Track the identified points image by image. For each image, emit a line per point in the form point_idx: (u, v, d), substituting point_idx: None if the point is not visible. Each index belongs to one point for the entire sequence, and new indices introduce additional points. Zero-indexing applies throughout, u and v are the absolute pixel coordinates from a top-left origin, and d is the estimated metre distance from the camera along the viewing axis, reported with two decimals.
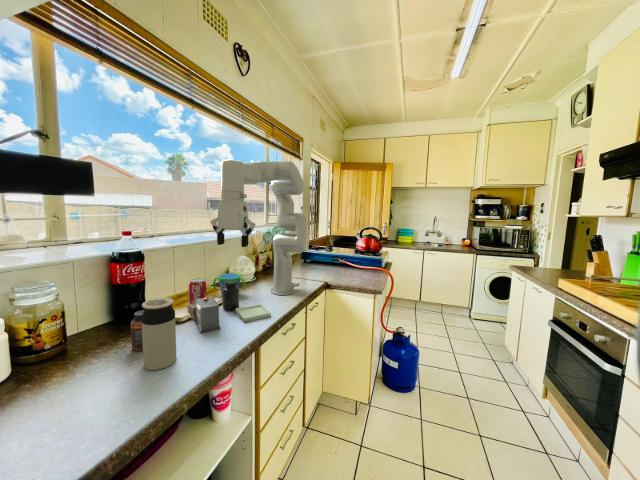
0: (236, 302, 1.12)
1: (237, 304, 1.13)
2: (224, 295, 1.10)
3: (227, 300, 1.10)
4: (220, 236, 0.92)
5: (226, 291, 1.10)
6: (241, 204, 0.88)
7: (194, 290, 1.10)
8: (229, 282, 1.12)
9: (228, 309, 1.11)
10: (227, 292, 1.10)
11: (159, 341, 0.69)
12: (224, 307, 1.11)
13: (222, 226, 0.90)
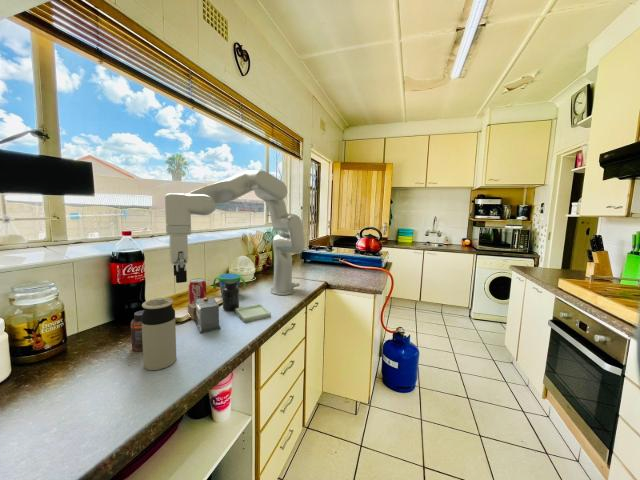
0: (236, 302, 1.12)
1: (237, 304, 1.13)
2: (224, 295, 1.10)
3: (227, 300, 1.10)
4: None
5: (226, 291, 1.10)
6: None
7: (194, 290, 1.10)
8: (229, 282, 1.12)
9: (228, 309, 1.11)
10: (227, 292, 1.10)
11: (159, 341, 0.69)
12: (224, 307, 1.11)
13: None
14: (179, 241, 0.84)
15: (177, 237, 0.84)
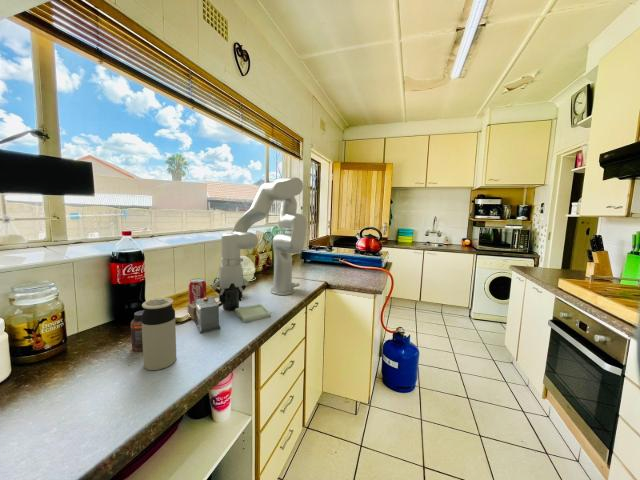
0: (236, 302, 1.12)
1: (237, 304, 1.13)
2: (224, 295, 1.10)
3: (227, 300, 1.10)
4: None
5: (226, 291, 1.10)
6: (241, 267, 1.13)
7: (194, 290, 1.10)
8: None
9: (228, 309, 1.10)
10: (227, 292, 1.10)
11: (159, 341, 0.69)
12: (224, 307, 1.11)
13: (225, 287, 1.09)
14: (219, 270, 1.09)
15: (219, 266, 1.10)
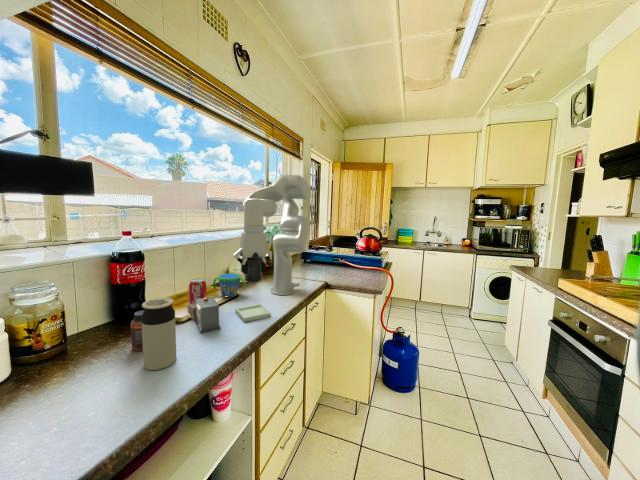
0: (259, 273, 1.04)
1: (260, 275, 1.05)
2: (247, 265, 1.03)
3: (250, 271, 1.03)
4: None
5: (249, 260, 1.02)
6: None
7: (194, 290, 1.10)
8: None
9: (251, 280, 1.03)
10: (250, 262, 1.02)
11: (159, 341, 0.69)
12: (246, 278, 1.04)
13: (248, 256, 1.02)
14: (241, 238, 1.02)
15: None
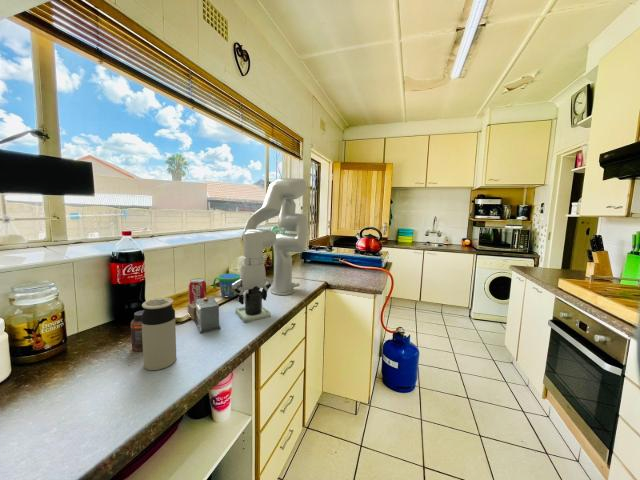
0: (259, 306, 1.06)
1: (260, 308, 1.07)
2: (247, 299, 1.05)
3: (250, 304, 1.05)
4: None
5: (249, 294, 1.04)
6: (264, 266, 1.07)
7: (194, 290, 1.10)
8: None
9: (251, 313, 1.05)
10: (250, 296, 1.04)
11: (159, 341, 0.69)
12: (247, 311, 1.05)
13: (248, 288, 1.04)
14: (241, 270, 1.03)
15: (241, 266, 1.04)
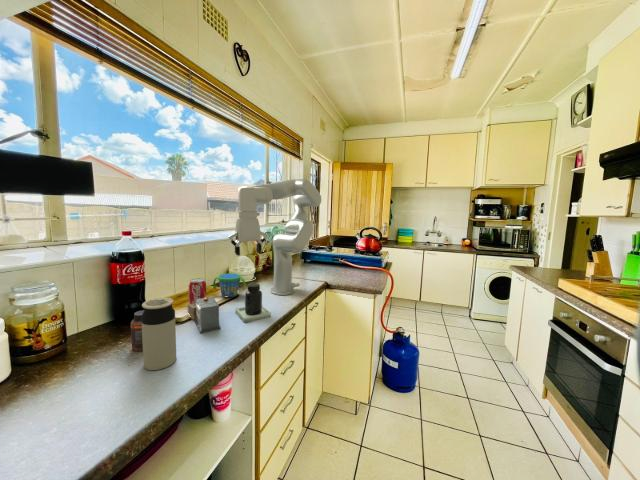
0: (259, 306, 1.06)
1: (260, 308, 1.07)
2: (247, 299, 1.05)
3: (250, 305, 1.05)
4: None
5: (249, 294, 1.04)
6: (258, 221, 1.14)
7: (194, 290, 1.10)
8: (252, 285, 1.06)
9: (251, 313, 1.05)
10: (250, 296, 1.04)
11: (159, 341, 0.69)
12: (247, 311, 1.05)
13: (244, 240, 1.11)
14: (237, 223, 1.10)
15: None
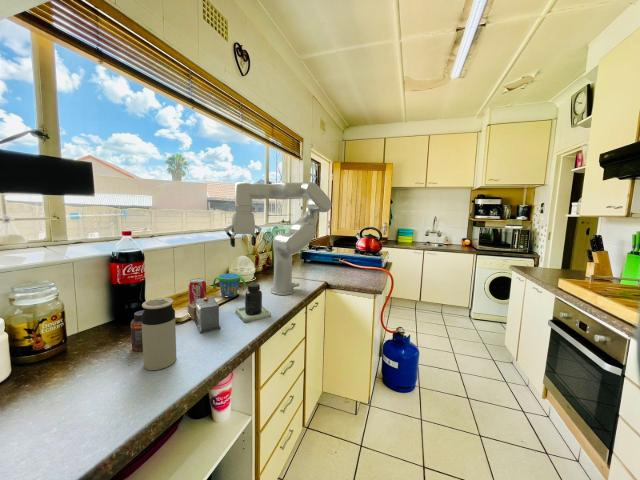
0: (259, 306, 1.06)
1: (260, 308, 1.07)
2: (247, 299, 1.05)
3: (250, 305, 1.04)
4: None
5: (249, 294, 1.04)
6: (253, 215, 1.21)
7: (194, 290, 1.10)
8: (252, 285, 1.06)
9: (251, 314, 1.05)
10: (250, 296, 1.04)
11: (159, 341, 0.69)
12: (247, 311, 1.05)
13: (239, 232, 1.18)
14: (233, 216, 1.17)
15: (233, 213, 1.18)
